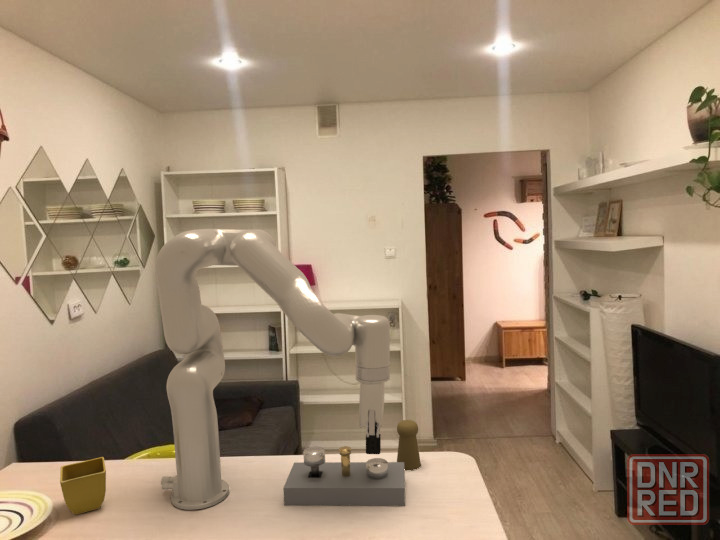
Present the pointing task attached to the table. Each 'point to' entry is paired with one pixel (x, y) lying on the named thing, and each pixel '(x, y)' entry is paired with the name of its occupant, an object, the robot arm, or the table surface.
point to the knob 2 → (377, 468)
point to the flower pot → (84, 485)
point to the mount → (344, 486)
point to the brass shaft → (345, 460)
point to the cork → (408, 445)
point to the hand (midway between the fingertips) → (373, 452)
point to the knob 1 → (314, 459)
